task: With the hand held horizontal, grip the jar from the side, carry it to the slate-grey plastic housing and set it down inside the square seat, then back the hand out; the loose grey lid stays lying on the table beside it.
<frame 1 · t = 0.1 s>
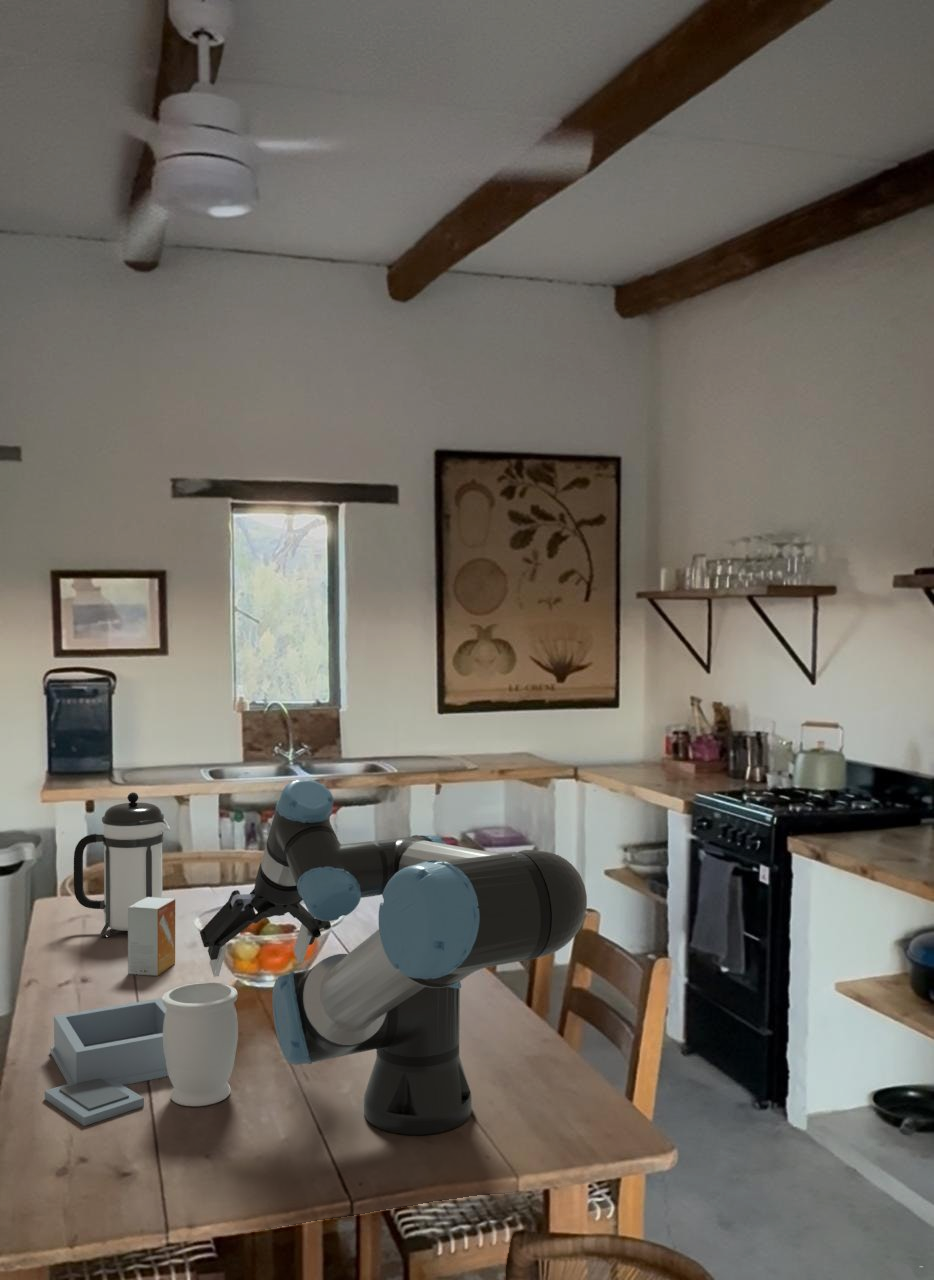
hand: (256, 962, 183), 15 cm above the table, tool tilted 35°, fingers open, 13 cm apart
coffee press: (127, 932, 252), on the table
housing: (121, 1061, 182), on the table
lid: (94, 1102, 167), on the table
jar: (200, 1096, 170), on the table
small box: (152, 970, 227), on the table
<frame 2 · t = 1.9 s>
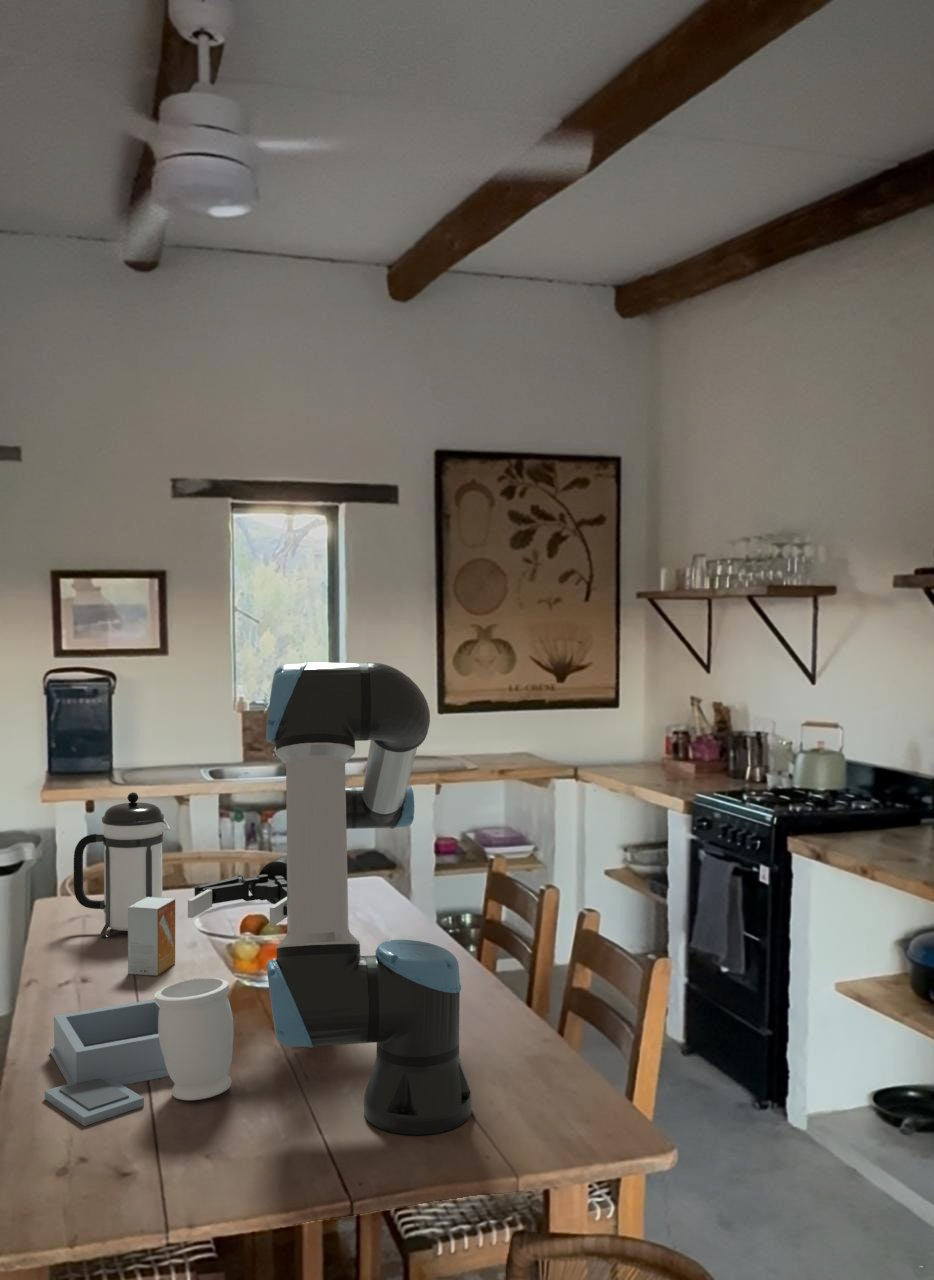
hand: (230, 912, 178), 24 cm above the table, tool horizontal, fingers open, 13 cm apart
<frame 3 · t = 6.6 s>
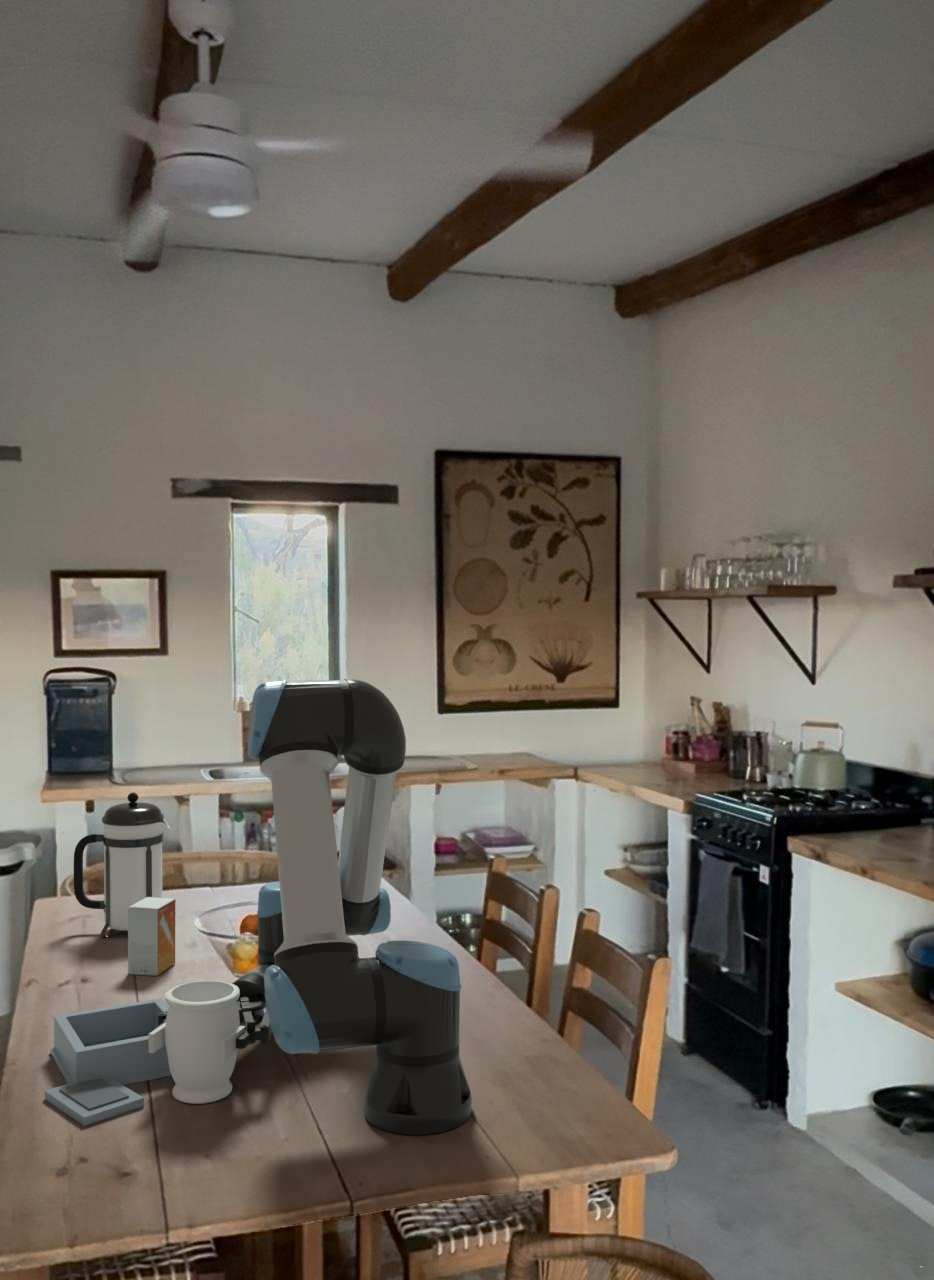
hand: (186, 1047, 165), 9 cm above the table, tool horizontal, fingers closed on jar, 10 cm apart
jar: (202, 1093, 171), on the table, touching gripper
everything else where it was.
when the fingers open (11 cm above the table, at t = 11.6 s): jar drops 1 cm, resting on housing.
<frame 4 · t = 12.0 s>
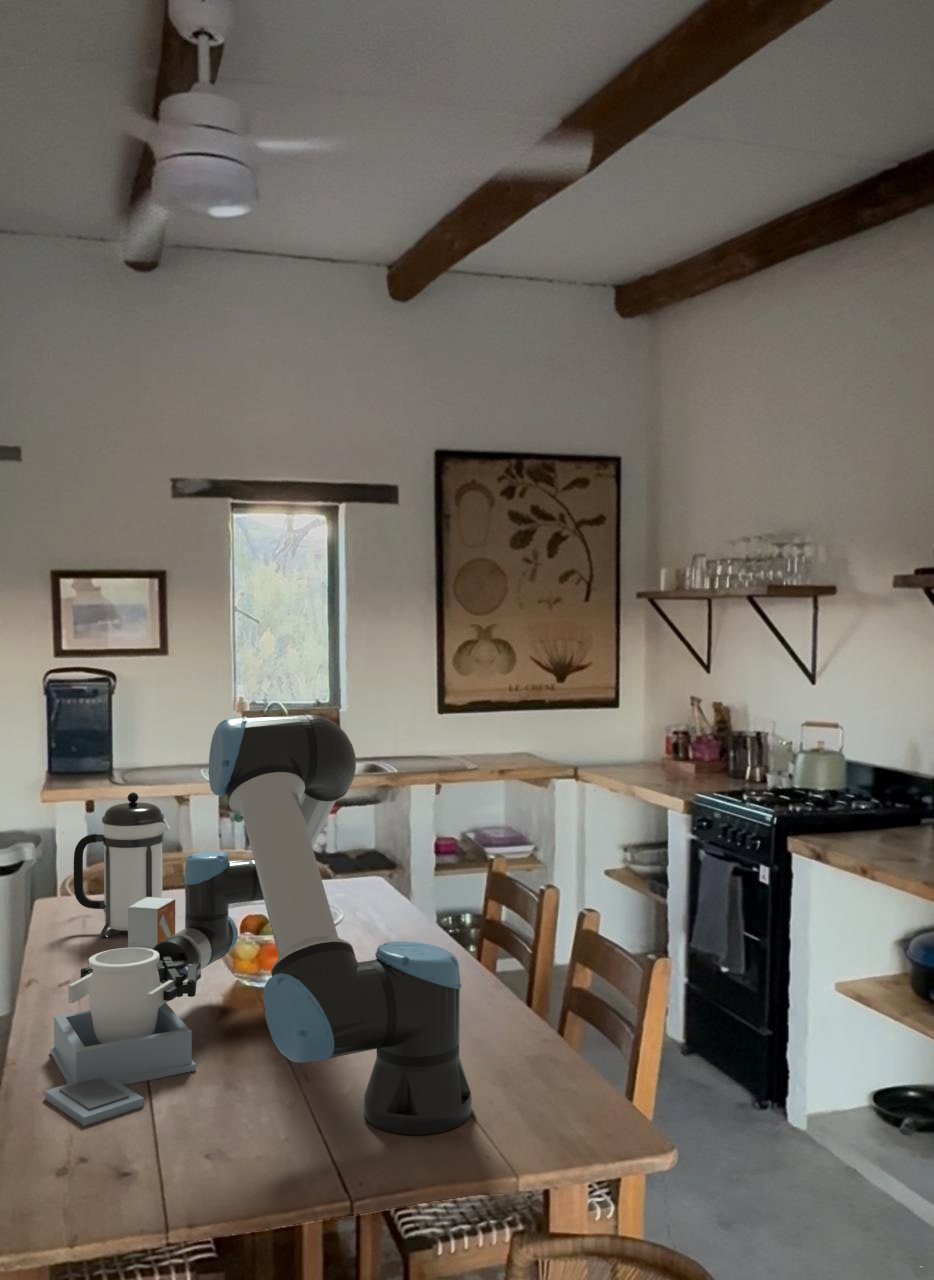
hand: (109, 998, 178), 11 cm above the table, tool horizontal, fingers open, 13 cm apart
jar: (125, 1052, 183), point 1 cm above the table, touching housing
everything else where it was.
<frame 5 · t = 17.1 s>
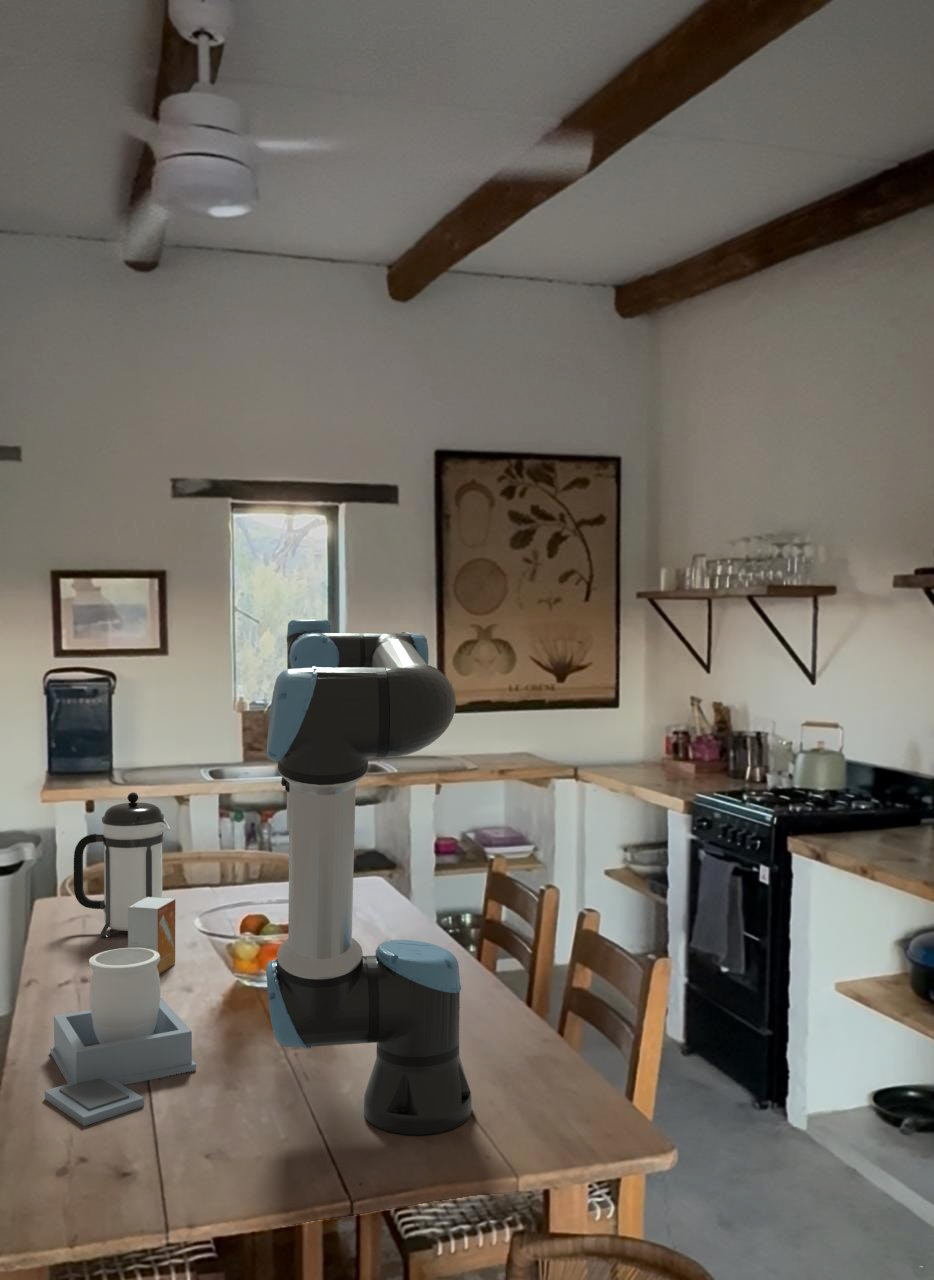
hand: (309, 836, 198), 32 cm above the table, tool pointing down, fingers open, 13 cm apart
nothing on the table moved.
at the end: jar inside the target area on the housing (0.9 cm from its centre), point 1.0 cm above the housing's base; jar tilted 0°; the gripper is holding nothing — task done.
